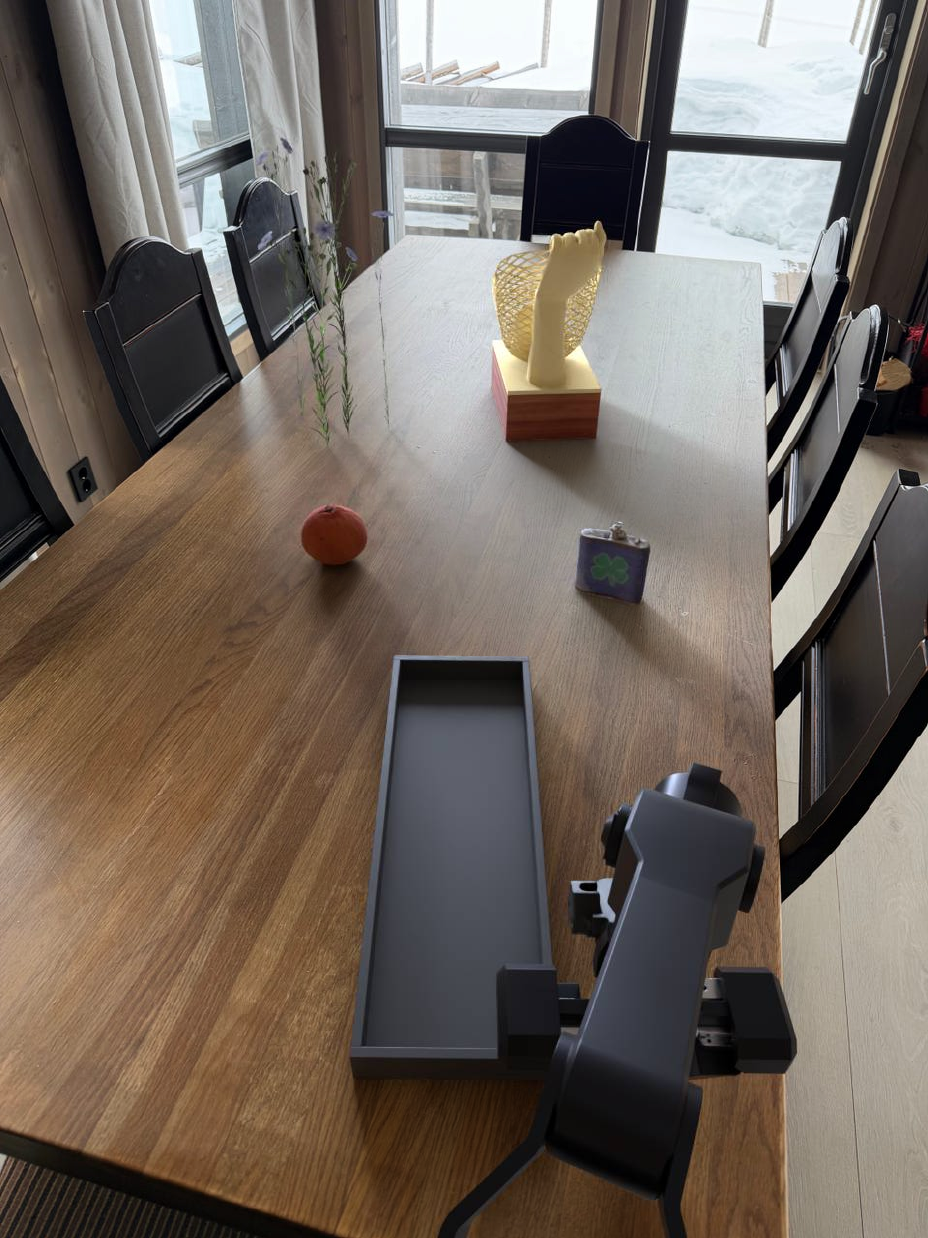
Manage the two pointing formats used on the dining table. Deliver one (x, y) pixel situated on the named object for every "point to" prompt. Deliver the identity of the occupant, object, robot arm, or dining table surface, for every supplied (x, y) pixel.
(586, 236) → the raised fist statue
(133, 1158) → the dining table surface
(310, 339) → the wildflower
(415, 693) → the black tray
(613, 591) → the flask
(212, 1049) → the dining table surface
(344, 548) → the fruit
